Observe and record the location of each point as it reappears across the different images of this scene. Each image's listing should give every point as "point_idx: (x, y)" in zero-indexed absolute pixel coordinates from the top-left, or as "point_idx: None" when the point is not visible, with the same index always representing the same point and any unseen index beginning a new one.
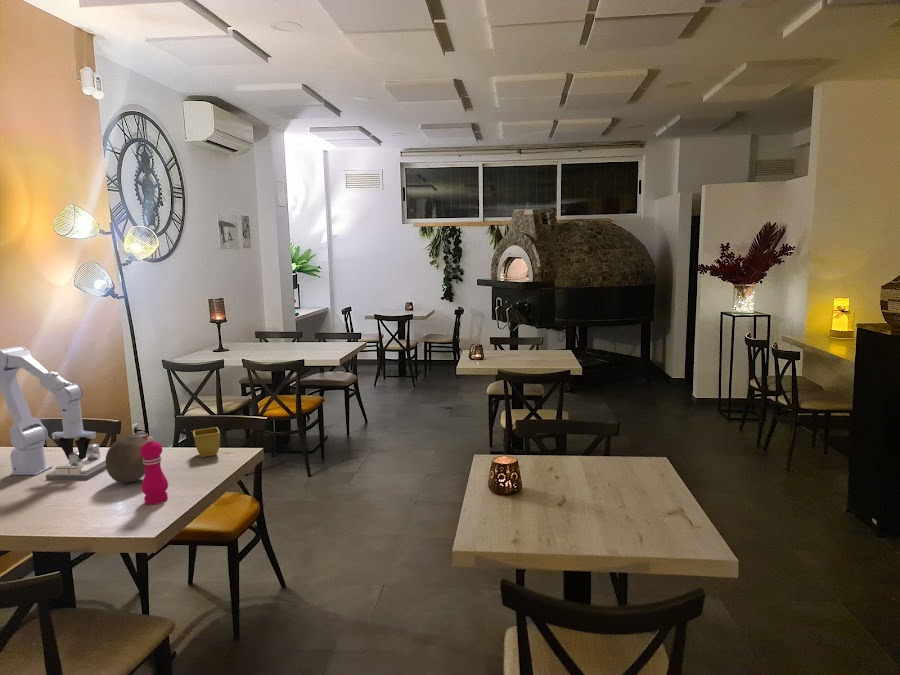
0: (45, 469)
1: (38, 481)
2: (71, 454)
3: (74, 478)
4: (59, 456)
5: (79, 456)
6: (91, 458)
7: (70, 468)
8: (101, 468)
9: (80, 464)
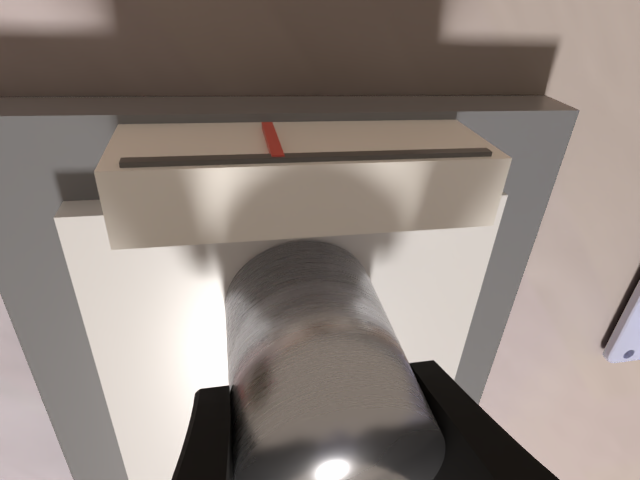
0: (635, 298)
1: (606, 30)
2: (373, 432)
3: (186, 99)
4: (616, 477)
5: (226, 425)
6: None
7: (238, 155)
8: (31, 354)
9: (228, 324)
